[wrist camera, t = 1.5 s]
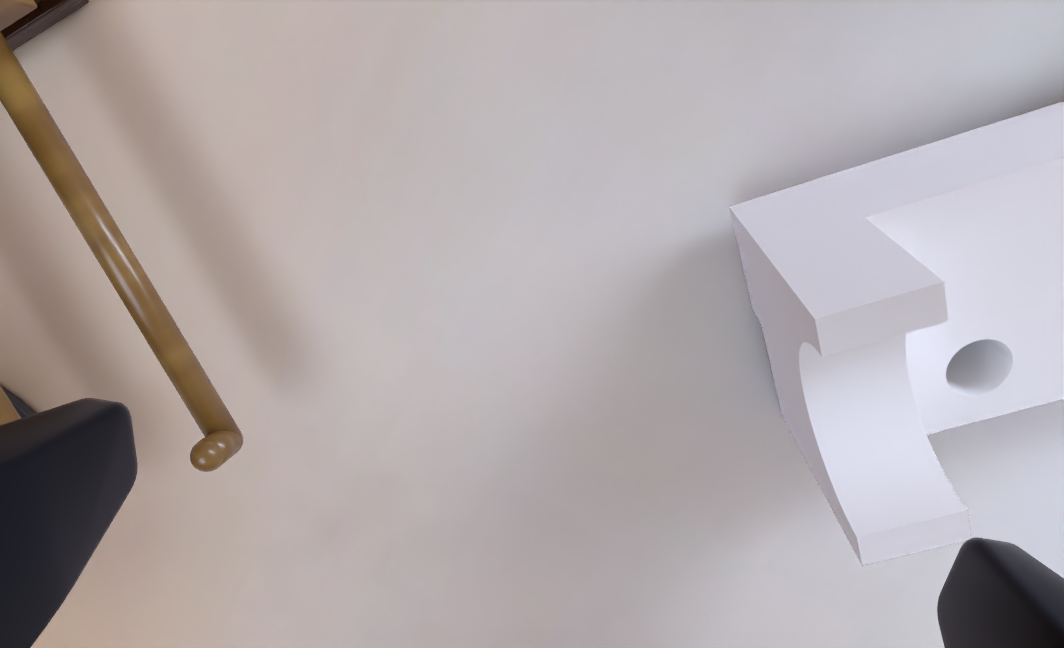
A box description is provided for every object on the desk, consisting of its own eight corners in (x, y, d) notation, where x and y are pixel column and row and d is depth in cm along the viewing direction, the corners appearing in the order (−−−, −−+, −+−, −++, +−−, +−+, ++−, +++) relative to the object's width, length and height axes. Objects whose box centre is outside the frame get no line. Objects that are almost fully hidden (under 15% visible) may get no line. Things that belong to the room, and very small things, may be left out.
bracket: (773, 401, 26) (862, 566, 19) (728, 206, 23) (814, 318, 16) (1190, 285, 24) (1455, 422, 17) (1201, 58, 21) (1527, 113, 14)
